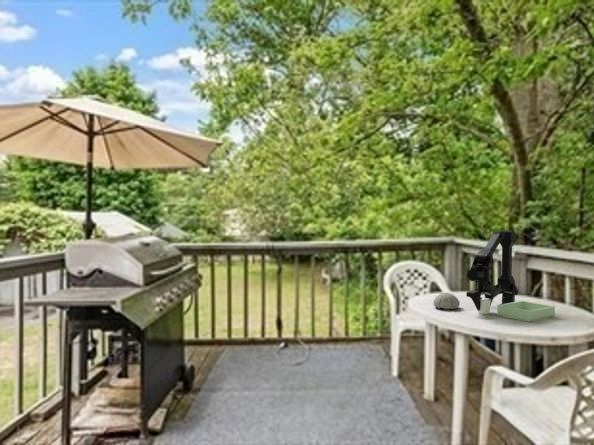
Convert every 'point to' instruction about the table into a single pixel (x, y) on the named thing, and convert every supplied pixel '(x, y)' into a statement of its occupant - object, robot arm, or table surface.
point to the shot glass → (485, 306)
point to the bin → (526, 311)
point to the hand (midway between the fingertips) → (483, 309)
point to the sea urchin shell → (446, 301)
